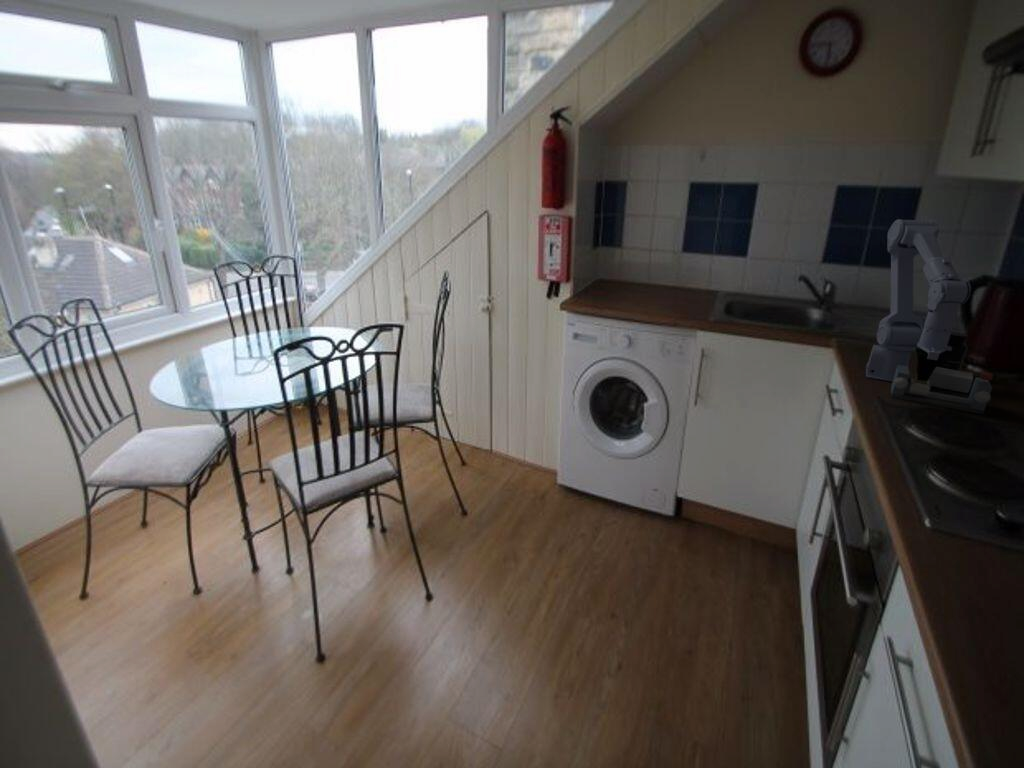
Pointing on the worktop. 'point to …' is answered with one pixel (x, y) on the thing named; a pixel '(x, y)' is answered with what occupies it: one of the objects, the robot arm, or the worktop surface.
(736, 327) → the worktop surface
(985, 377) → the plunger
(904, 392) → the rail stand
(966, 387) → the skincare box
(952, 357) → the supplement bottle
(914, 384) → the carriage
